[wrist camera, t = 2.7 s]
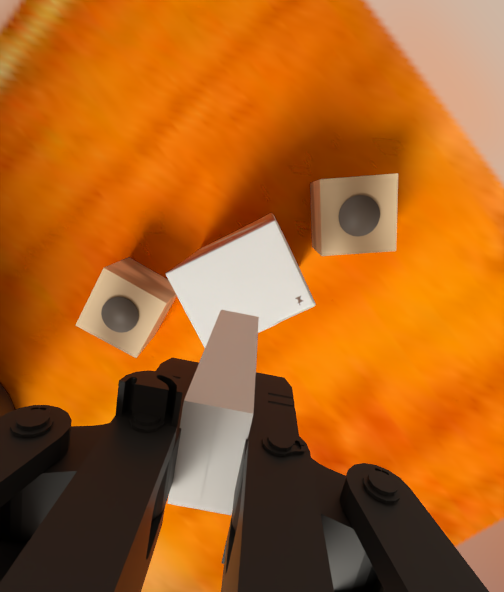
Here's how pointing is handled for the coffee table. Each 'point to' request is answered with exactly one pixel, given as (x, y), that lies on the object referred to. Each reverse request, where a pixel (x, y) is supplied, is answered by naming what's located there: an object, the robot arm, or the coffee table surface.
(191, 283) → the small box
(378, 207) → the marked block
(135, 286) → the marked block
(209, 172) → the coffee table surface
